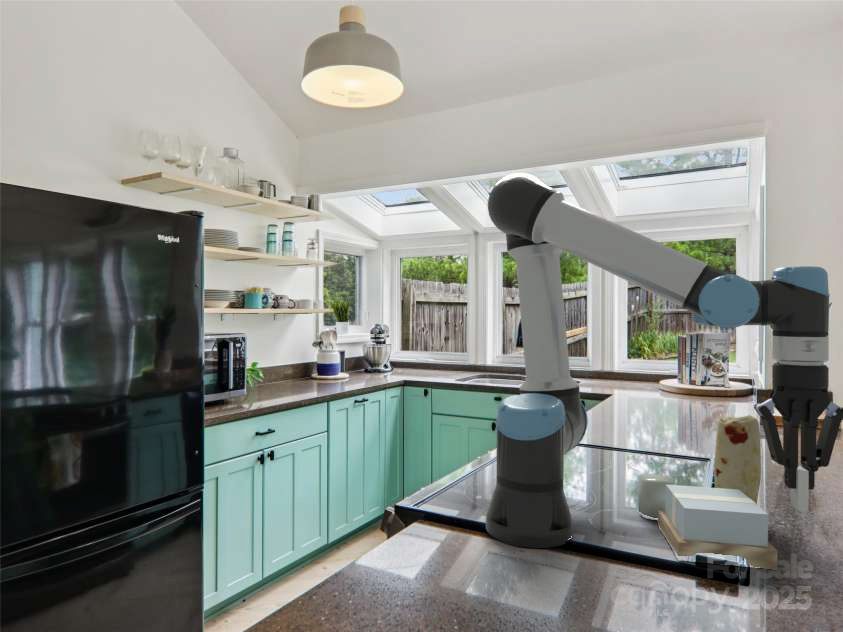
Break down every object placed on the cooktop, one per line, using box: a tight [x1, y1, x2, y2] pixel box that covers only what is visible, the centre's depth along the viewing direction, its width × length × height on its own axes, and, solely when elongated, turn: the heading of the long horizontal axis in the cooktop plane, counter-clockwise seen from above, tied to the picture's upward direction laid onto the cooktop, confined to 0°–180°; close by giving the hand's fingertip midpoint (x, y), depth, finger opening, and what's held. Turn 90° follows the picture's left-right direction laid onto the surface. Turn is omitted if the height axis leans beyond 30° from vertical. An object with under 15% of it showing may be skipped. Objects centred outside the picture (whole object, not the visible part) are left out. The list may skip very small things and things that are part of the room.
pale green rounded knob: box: [637, 473, 676, 518], centre depth 106 cm, size 6×6×7 cm
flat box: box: [665, 484, 769, 547], centre depth 92 cm, size 12×12×5 cm
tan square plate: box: [657, 510, 778, 571], centre depth 92 cm, size 14×14×3 cm
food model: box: [713, 415, 762, 505], centre depth 103 cm, size 10×7×20 cm
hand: (799, 508), depth 89 cm, fingers closed
